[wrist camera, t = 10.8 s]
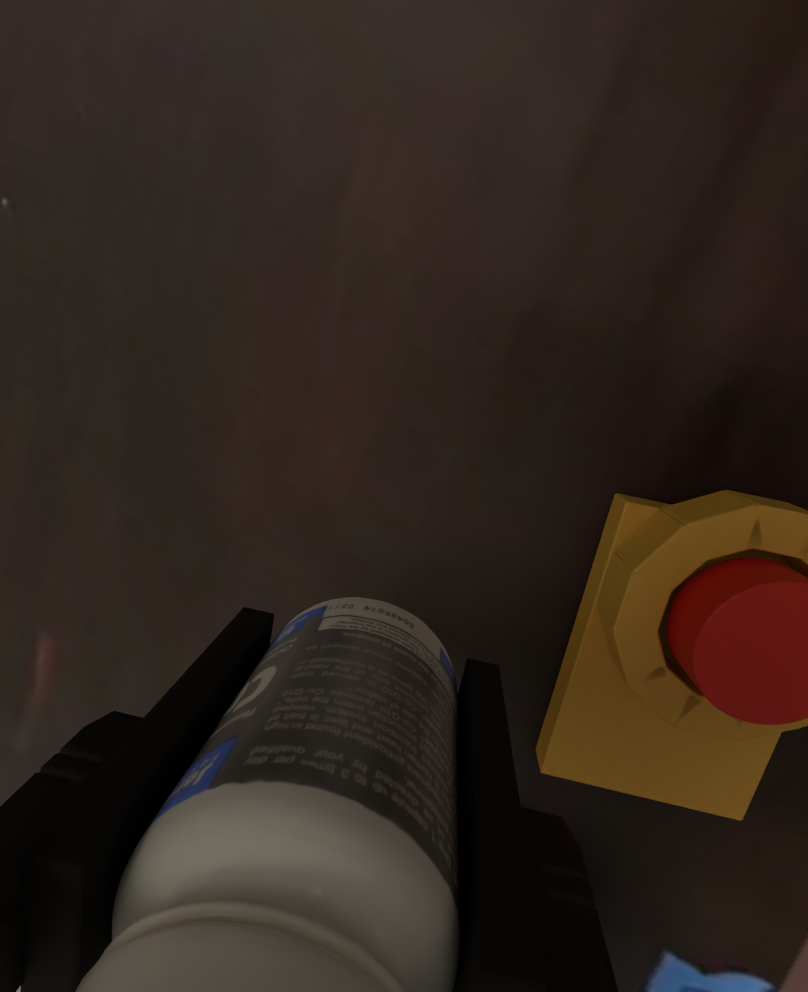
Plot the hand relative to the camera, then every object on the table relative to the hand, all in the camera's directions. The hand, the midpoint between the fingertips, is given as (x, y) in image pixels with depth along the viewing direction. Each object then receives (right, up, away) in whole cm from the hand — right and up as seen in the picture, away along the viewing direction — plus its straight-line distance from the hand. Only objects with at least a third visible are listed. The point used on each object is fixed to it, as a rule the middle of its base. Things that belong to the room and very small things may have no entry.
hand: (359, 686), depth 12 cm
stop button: (+11, +1, +2) cm, 11 cm away
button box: (+10, -1, +5) cm, 12 cm away
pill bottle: (0, 0, 0) cm, 0 cm away
